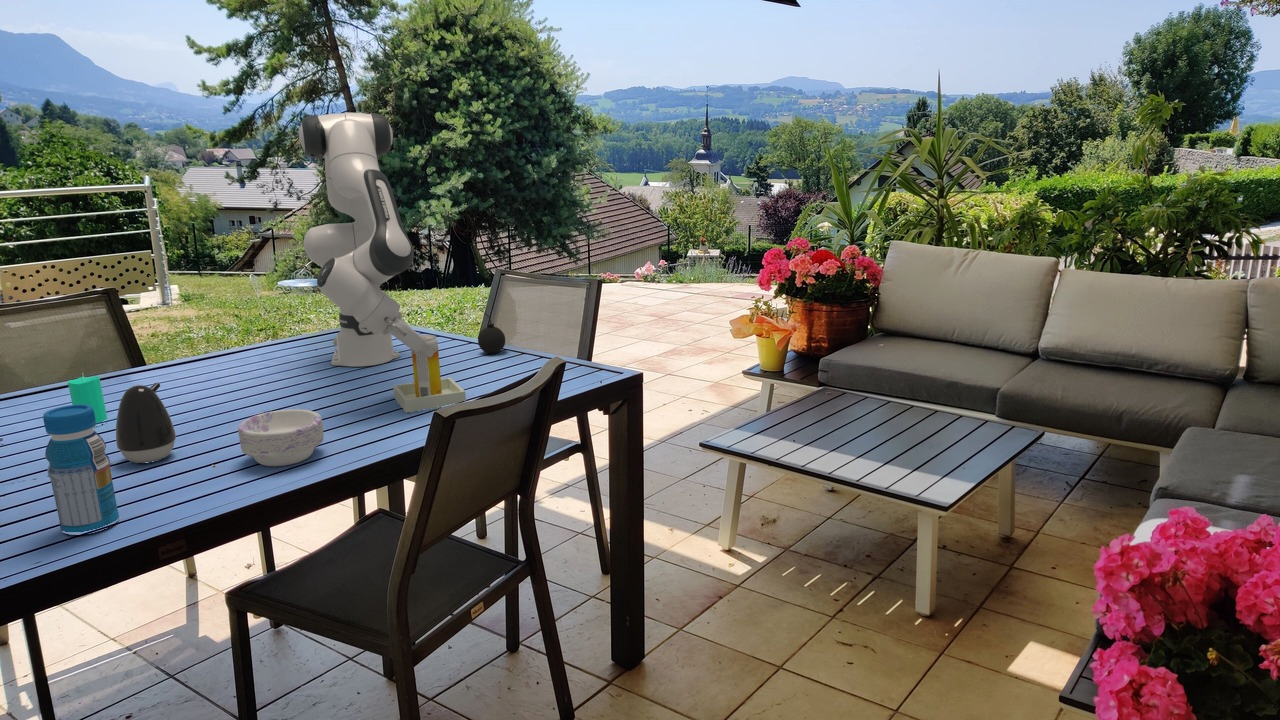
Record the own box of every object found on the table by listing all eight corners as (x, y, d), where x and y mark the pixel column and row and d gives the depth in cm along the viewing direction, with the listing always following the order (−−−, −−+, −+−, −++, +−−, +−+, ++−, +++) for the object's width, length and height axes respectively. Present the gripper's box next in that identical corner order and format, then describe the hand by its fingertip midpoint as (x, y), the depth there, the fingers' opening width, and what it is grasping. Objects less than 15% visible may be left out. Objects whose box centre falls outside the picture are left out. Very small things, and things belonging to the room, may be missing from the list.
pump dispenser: (191, 451, 173) (179, 379, 169) (152, 470, 163) (138, 394, 160) (148, 448, 175) (136, 377, 172) (107, 466, 166) (93, 392, 162)
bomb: (509, 350, 251) (507, 310, 248) (500, 357, 244) (498, 316, 241) (484, 349, 253) (481, 310, 250) (474, 356, 245) (471, 315, 242)
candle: (114, 421, 194) (104, 370, 191) (90, 429, 188) (79, 377, 185) (94, 419, 195) (85, 368, 192) (70, 427, 190) (59, 375, 187)
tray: (394, 397, 207) (393, 385, 206) (451, 389, 213) (450, 377, 212) (406, 413, 195) (404, 400, 194) (466, 404, 201) (465, 391, 200)
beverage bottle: (69, 543, 134) (44, 422, 129) (53, 528, 139) (28, 411, 134) (128, 524, 140) (106, 408, 135) (110, 511, 145) (89, 399, 140)
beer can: (444, 394, 206) (439, 334, 203) (439, 401, 201) (434, 339, 197) (418, 395, 206) (413, 334, 202) (413, 402, 200) (407, 340, 197)
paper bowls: (323, 466, 163) (319, 427, 161) (237, 477, 159) (231, 437, 157) (328, 441, 177) (323, 404, 175) (249, 450, 173) (243, 412, 171)
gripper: (399, 311, 186) (447, 349, 192) (382, 298, 203) (427, 333, 210) (380, 334, 185) (429, 371, 191) (365, 318, 203) (410, 353, 209)
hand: (428, 351), depth 201 cm, fingers closed on beer can, 6 cm apart
